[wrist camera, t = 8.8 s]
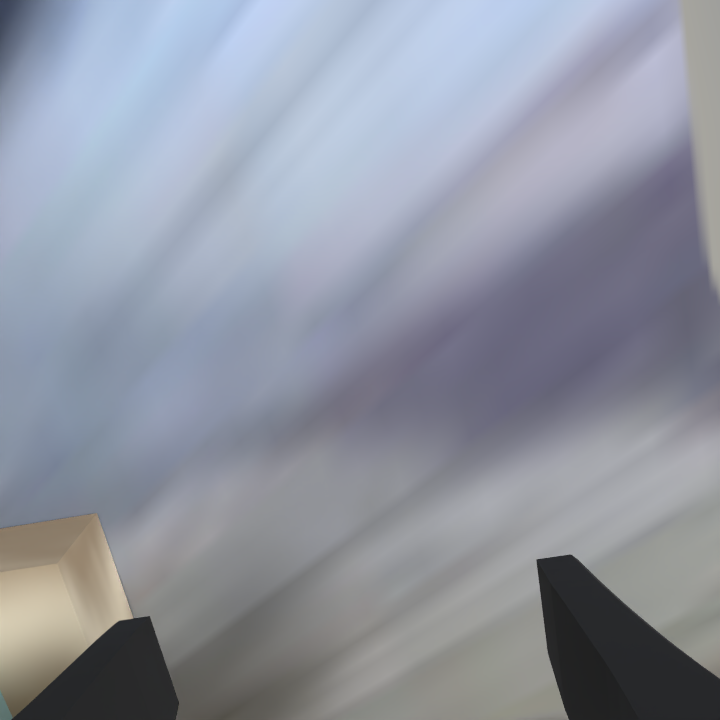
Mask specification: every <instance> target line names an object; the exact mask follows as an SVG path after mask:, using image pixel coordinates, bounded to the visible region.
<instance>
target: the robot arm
mask: <svg viewBox="0 0 720 720" xmlns="http://www.w3.org/2000/svg"><path fill="white" fill-rule="evenodd" d="M537 568H538V576H539V584H540V592H541V600H542V608H543V617H544V625H545V633H546V641H547V649H548V655H549V658H550V661H551V665H552V668H553V671H554V675H555V678H556V682H557V685H558V688H559V691H560V695H561V698H562V701H563V704H564V708H565V711H566V713H567V715H568V718H569V720H720V679H719V678H718V677H717V676H715V675H714V674H712V673H711V672H710V671H708V670H707V669H705V668H704V667H703V666H701V665H700V664H699V663H697V662H696V661H695V660H693V659H692V658H691V657H689V656H688V655H687V654H685V653H684V652H683V651H681V650H680V649H679V648H677V647H676V646H675V645H673V644H672V643H671V642H670V641H668V640H667V639H666V638H665V637H663V636H662V635H661V634H660V633H658V632H657V631H656V630H655V629H654V628H653V627H651V626H650V625H649V624H648V623H647V622H645V621H644V620H643V619H642V618H641V617H639V616H638V615H637V614H636V613H635V612H633V611H632V610H631V609H630V608H629V607H628V606H627V605H625V604H624V603H623V602H622V601H621V600H620V599H619V598H618V597H617V596H615V595H614V594H613V593H612V592H611V591H610V590H609V589H608V588H607V587H606V586H605V585H604V584H602V583H601V582H600V581H599V580H598V579H597V578H596V577H595V576H594V575H593V574H592V573H591V572H590V571H589V570H588V569H587V568H586V567H585V566H584V565H583V564H582V563H581V562H580V561H579V560H578V559H576V558H575V557H574V556H572V555H565V556H558V557H551V558H544V559H537ZM178 705H179V702H178V699H177V696H176V693H175V690H174V687H173V684H172V681H171V678H170V675H169V672H168V669H167V666H166V663H165V660H164V657H163V654H162V652H161V649H160V646H159V643H158V640H157V637H156V634H155V631H154V628H153V625H152V622H151V619H150V616H148V617H141V618H134V619H127V620H121V621H118V622H117V623H115V624H114V625H113V626H112V627H111V628H109V629H108V630H107V631H106V632H105V633H104V634H103V635H101V636H100V637H99V638H98V639H97V640H96V641H95V642H94V643H93V644H92V645H91V646H90V647H88V648H87V649H86V650H85V651H84V652H83V653H82V654H81V655H80V656H79V657H78V658H77V659H76V660H75V661H74V662H73V663H72V664H71V665H69V666H68V667H67V668H66V669H65V670H64V671H63V672H62V673H61V674H60V675H59V676H58V677H57V678H56V679H55V680H54V681H53V682H51V683H50V684H49V685H48V686H47V687H46V688H45V689H44V690H43V691H42V692H41V693H40V694H39V695H38V696H37V697H36V698H34V699H33V700H32V701H31V702H30V703H29V704H28V705H27V706H26V707H25V708H24V709H23V710H22V711H20V712H19V713H18V714H17V715H16V716H15V717H14V718H12V719H11V720H176V715H177V710H178Z"/></svg>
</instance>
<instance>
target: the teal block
mask: <svg viewBox="0 0 720 720" xmlns="http://www.w3.org/2000/svg"><path fill="white" fill-rule="evenodd" d="M12 718H13V717H12V715H11V713H10V711H9V708H8V706H7V704H6V702H5V700H4V697H3V695H2V693H1V691H0V720H11V719H12Z"/></svg>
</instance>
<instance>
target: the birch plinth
mask: <svg viewBox="0 0 720 720" xmlns="http://www.w3.org/2000/svg"><path fill="white" fill-rule="evenodd" d="M127 619H133V616H132V613H131V610H130V607H129V604H128V601H127V598H126V596H125V593H124V590H123V587H122V584H121V581H120V578H119V575H118V573H117V570H116V567H115V564H114V561H113V558H112V555H111V552H110V550H109V547H108V544H107V541H106V538H105V535H104V532H103V529H102V527H101V524H100V521H99V518H98V515H97V513H95V514H89V515H83V516H76V517H70V518H64V519H58V520H51V521H45V522H39V523H33V524H26V525H20V526H14V527H8V528H1V529H0V691H1V693H2V695H3V697H4V700H5V702H6V704H7V706H8V708H9V711H10V713H11V715H12V717H13V718H14V717H15V716H16V715H17V714H18V713H19V712H20V711H22V710H23V709H24V708H25V707H26V706H27V705H28V704H29V703H30V702H31V701H32V700H33V699H34V698H36V697H37V696H38V695H39V694H40V693H41V692H42V691H43V690H44V689H45V688H46V687H47V686H48V685H49V684H50V683H51V682H53V681H54V680H55V679H56V678H57V677H58V676H59V675H60V674H61V673H62V672H63V671H64V670H65V669H66V668H67V667H68V666H69V665H71V664H72V663H73V662H74V661H75V660H76V659H77V658H78V657H79V656H80V655H81V654H82V653H83V652H84V651H85V650H86V649H87V648H88V647H90V646H91V645H92V644H93V643H94V642H95V641H96V640H97V639H98V638H99V637H100V636H101V635H103V634H104V633H105V632H106V631H107V630H108V629H109V628H111V627H112V626H113V625H114V624H115V623H117V622H118V621H121V620H127Z"/></svg>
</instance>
